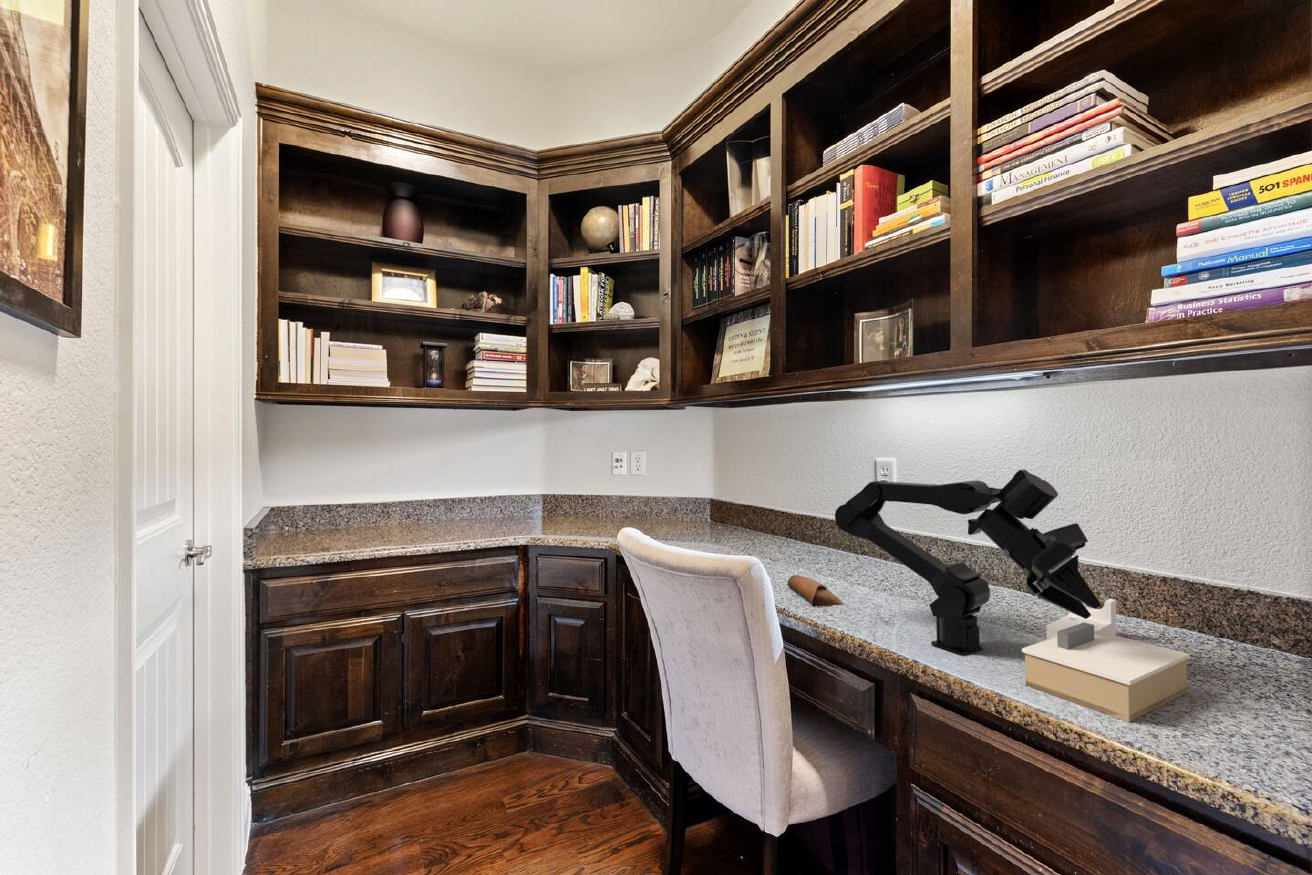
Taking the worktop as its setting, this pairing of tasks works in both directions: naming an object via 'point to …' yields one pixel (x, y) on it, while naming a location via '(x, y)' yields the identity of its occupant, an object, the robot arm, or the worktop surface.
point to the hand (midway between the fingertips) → (1093, 612)
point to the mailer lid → (1106, 654)
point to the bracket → (1088, 620)
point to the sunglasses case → (813, 591)
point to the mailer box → (1106, 688)
